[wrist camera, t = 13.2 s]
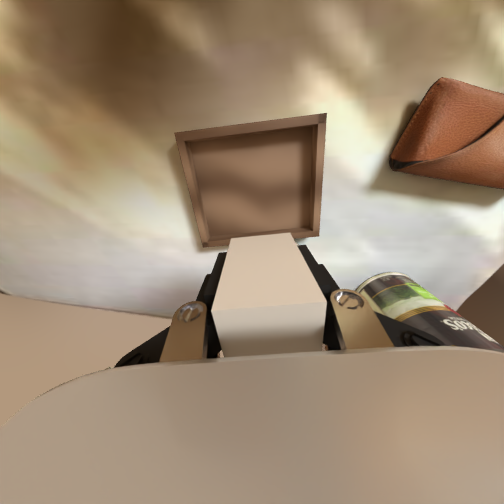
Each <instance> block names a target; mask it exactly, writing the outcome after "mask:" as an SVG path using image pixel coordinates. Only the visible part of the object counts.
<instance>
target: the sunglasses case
mask: <svg viewBox="0 0 504 504" xmlns="http://www.w3.org/2000/svg"><path fill="white" fill-rule="evenodd" d="M389 165H390V168H391V169H392V170H393V171H398V172H403V173H408V174H413V175H419V176H425V177H431V178H437V179H443V180H450V181H456V182H462V183H468V184H475V185H481V186H487V187H494V188H500V189H504V94H503V93H499V92H494V91H490V90H487V89H483V88H480V87H477V86H473V85H470V84H468V83H464V82H461V81H457V80H454V79H448V78H443V77H441V78H440V79H438V80H437V81H436V82H435V83H434V84H433V85H432V86H431V87H430V88H429V90H428V91H427V93H426V95H425V96H424V98H423V99H422V101H421V103H420V104H419V106H418V107H417V109H416V111H415V112H414V114H413V116H412V117H411V119H410V121H409V123H408V124H407V126H406V128H405V130H404V132H403V133H402V135H401V137H400V139H399V140H398V142H397V144H396V146H395V148H394V150H393V152H392V154H391V155H390V161H389Z"/></svg>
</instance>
